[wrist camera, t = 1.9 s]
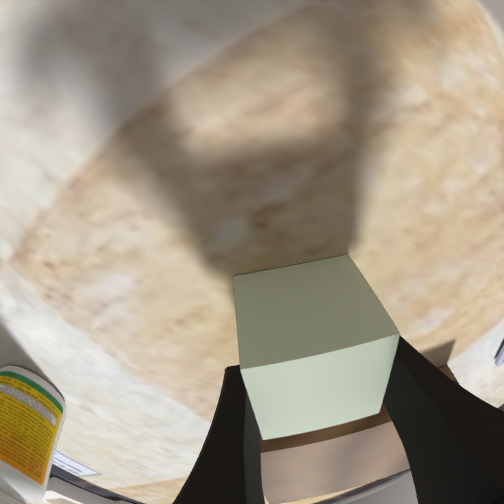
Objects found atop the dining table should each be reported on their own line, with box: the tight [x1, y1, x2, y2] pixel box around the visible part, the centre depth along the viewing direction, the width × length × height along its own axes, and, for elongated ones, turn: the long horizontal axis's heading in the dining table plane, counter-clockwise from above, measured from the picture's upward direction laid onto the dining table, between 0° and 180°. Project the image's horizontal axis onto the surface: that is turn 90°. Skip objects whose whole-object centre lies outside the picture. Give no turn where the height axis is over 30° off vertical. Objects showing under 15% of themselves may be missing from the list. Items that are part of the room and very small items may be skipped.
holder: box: [41, 477, 133, 504], centre depth 23 cm, size 45×18×3 cm, turn 43°
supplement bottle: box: [0, 366, 67, 504], centre depth 11 cm, size 5×5×10 cm
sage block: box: [233, 254, 400, 440], centre depth 11 cm, size 4×4×4 cm
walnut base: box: [260, 365, 459, 504], centre depth 19 cm, size 14×14×2 cm
